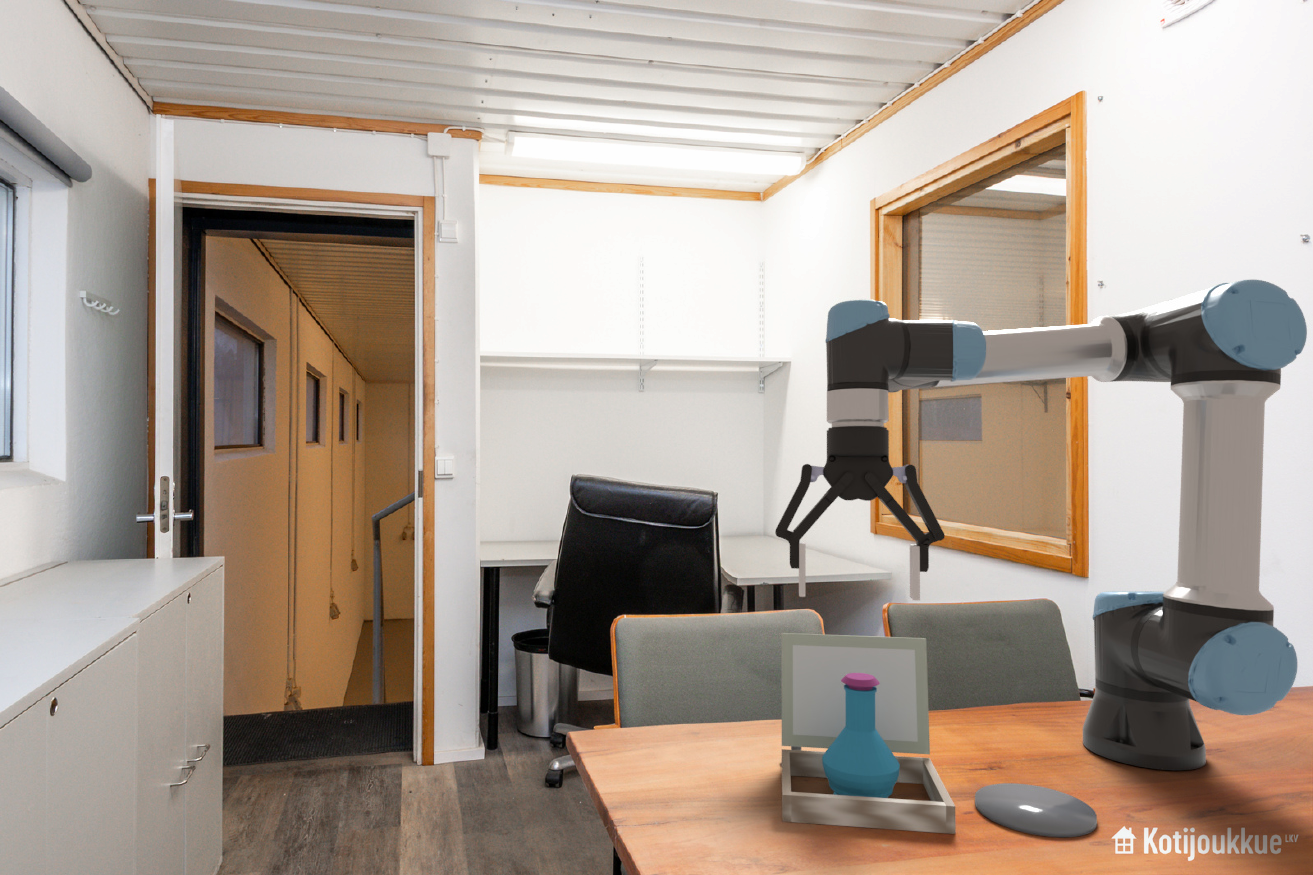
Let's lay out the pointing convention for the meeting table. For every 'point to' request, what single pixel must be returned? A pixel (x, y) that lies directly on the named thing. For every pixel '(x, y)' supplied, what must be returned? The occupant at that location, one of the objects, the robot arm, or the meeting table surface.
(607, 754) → the meeting table surface
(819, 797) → the cold frame
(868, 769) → the perfume bottle
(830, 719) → the lid
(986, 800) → the saucer
